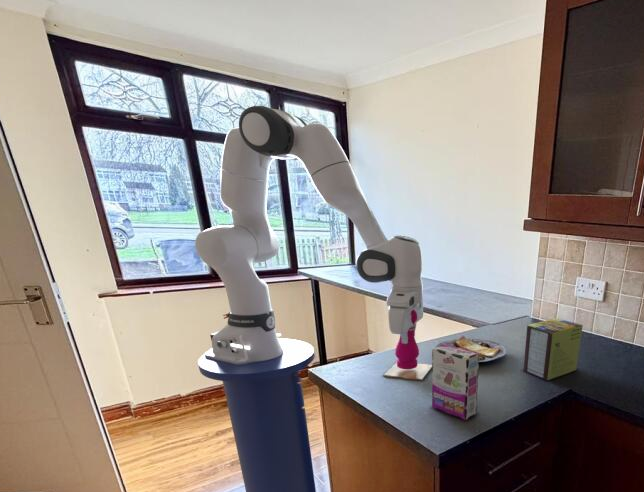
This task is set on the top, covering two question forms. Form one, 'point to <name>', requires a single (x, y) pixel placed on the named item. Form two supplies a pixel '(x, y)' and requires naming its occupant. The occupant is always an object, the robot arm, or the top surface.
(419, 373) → the coaster mat
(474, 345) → the food plate
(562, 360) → the protein box
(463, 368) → the candy bar box
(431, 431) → the top surface
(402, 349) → the pepper mill
